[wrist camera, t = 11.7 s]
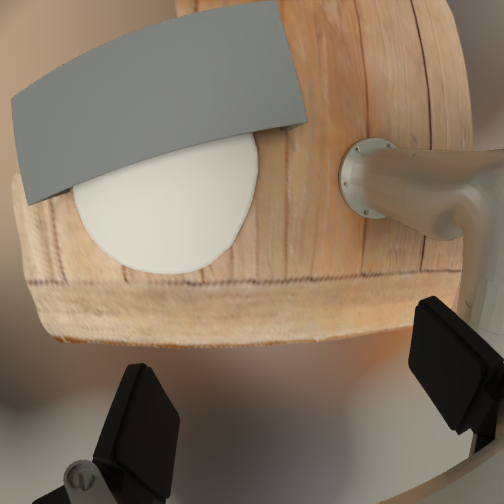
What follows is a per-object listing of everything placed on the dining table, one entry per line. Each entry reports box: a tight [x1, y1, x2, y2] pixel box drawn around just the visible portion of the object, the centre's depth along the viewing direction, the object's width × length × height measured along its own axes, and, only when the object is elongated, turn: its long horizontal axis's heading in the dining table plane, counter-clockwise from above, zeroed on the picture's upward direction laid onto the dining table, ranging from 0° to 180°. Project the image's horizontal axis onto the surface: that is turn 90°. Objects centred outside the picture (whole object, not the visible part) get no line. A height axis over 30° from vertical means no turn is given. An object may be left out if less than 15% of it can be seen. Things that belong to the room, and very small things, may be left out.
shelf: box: [11, 1, 307, 206], centre depth 30 cm, size 36×16×10 cm, turn 102°
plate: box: [73, 132, 259, 274], centre depth 35 cm, size 28×6×27 cm
